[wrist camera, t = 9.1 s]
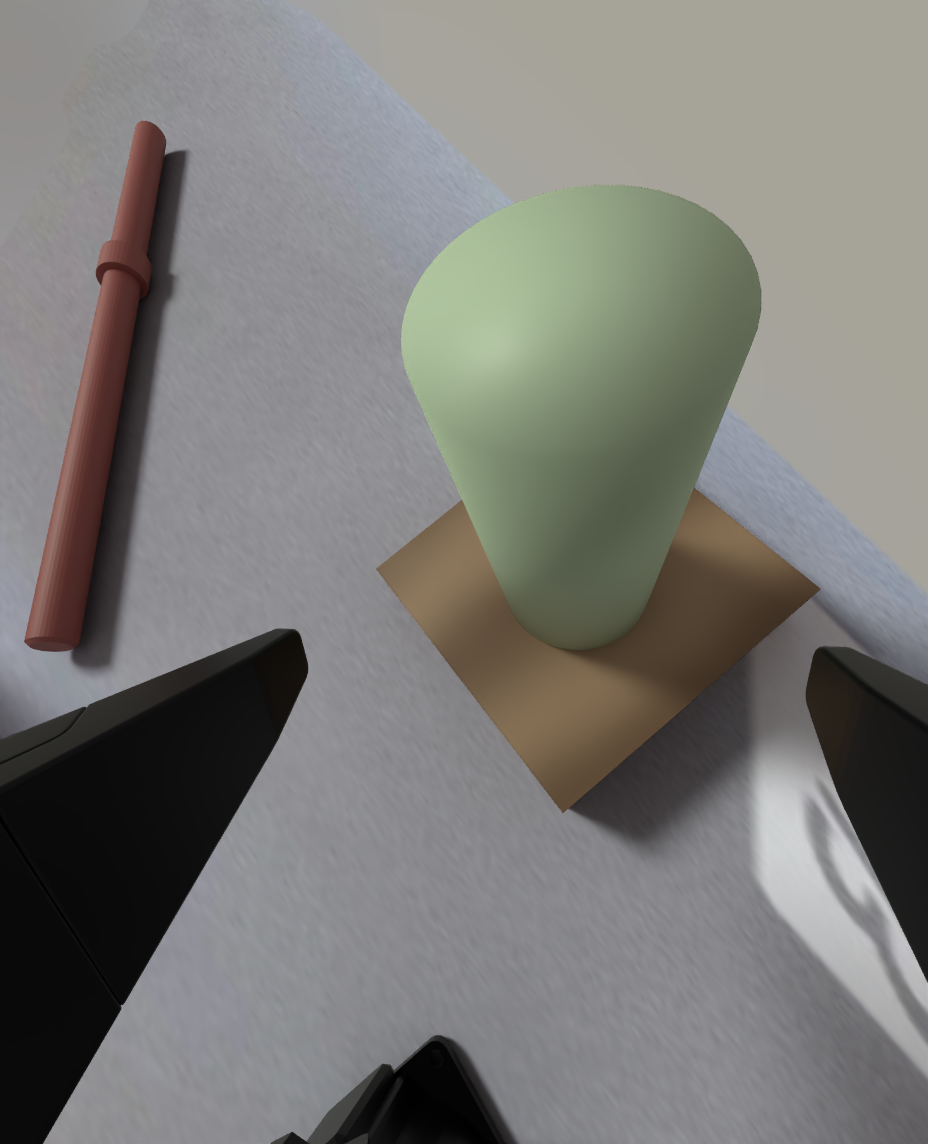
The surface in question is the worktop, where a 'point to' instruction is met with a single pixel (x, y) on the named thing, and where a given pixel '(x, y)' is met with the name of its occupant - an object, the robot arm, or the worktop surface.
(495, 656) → the walnut base
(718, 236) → the green cylinder
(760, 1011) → the worktop surface
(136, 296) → the red collared rod
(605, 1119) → the worktop surface
